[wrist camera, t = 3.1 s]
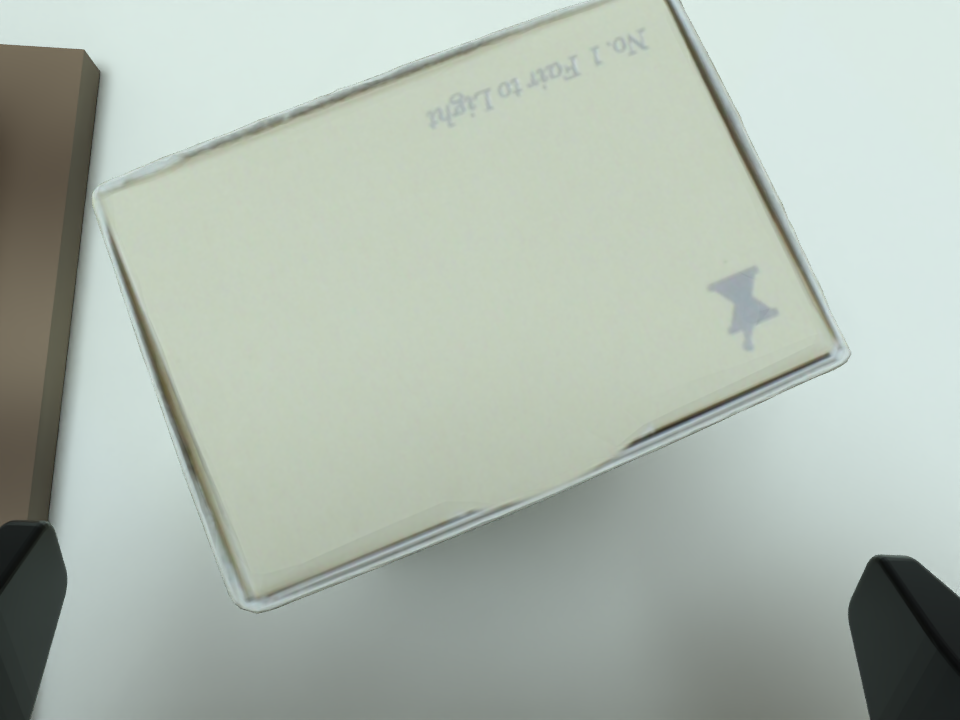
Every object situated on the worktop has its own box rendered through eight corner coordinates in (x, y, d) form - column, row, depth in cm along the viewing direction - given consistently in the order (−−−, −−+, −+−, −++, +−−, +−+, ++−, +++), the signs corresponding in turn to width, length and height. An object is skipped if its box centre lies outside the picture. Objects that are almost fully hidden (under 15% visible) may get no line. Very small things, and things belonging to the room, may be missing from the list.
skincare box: (536, 271, 21) (687, -55, 9) (614, 450, 20) (884, 355, 8) (278, 373, 20) (64, 163, 8) (350, 561, 20) (235, 632, 8)
